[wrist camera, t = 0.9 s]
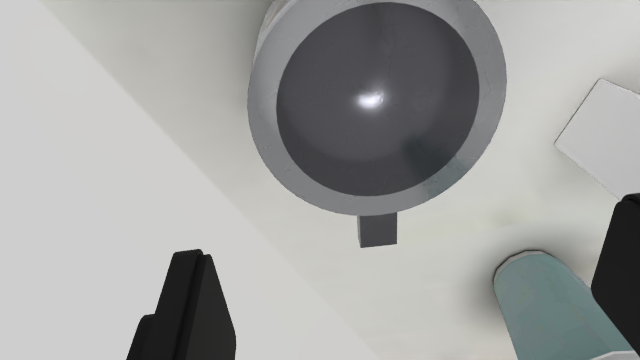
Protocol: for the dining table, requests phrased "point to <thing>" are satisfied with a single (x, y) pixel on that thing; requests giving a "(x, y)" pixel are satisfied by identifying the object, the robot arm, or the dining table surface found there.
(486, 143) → the pot
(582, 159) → the milk
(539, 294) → the disposable coffee cup
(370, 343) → the dining table surface
